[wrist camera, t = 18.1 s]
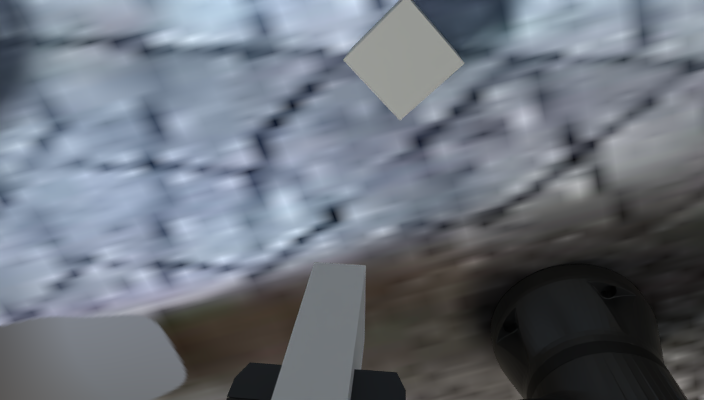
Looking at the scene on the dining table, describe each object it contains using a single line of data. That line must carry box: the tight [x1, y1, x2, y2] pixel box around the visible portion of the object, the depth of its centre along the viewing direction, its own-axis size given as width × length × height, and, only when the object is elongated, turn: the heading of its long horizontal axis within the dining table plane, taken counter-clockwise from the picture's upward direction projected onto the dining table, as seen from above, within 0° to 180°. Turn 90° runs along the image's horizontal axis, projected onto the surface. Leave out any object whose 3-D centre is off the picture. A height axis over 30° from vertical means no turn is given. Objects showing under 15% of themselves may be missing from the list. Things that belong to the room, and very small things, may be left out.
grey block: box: [343, 0, 464, 120], centre depth 37 cm, size 6×6×6 cm
